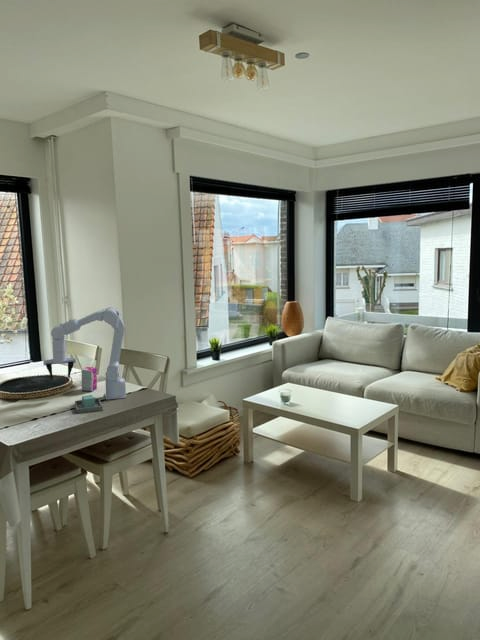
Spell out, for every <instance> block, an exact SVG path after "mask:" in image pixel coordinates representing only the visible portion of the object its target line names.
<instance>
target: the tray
mask: <svg viewBox="0 0 480 640" xmlns="http://www.w3.org/2000/svg"><path fill="white" fill-rule="evenodd" d="M74 407H75V411H76V412H75V413H76V414H83V413H84V414H85V413H91V412H92V413H93V412H100V411H104V410H103V404H102V402H101V398H99V397H98V398H95V407H87V408H84V407H83V406H82V399H81V400H80V399H79V400H74Z"/></svg>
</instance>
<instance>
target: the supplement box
mask: <svg viewBox="0 0 480 640" xmlns="http://www.w3.org/2000/svg"><path fill="white" fill-rule="evenodd" d="M97 371H98V368H97V367H92V366H86V367H83V368H82V369H81V392H87V393H92V392H94V391H95V390H97V388H98V385H97V384H98V382H97V381H98V375H97V374H98V372H97Z"/></svg>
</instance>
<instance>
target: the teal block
mask: <svg viewBox="0 0 480 640" xmlns="http://www.w3.org/2000/svg"><path fill="white" fill-rule="evenodd" d="M95 399H96V398H95V396H93V395H92V394H89V395H83V396H81V400H82V406H83V407H84V408H87V407H95Z"/></svg>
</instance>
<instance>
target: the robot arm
mask: <svg viewBox="0 0 480 640" xmlns="http://www.w3.org/2000/svg"><path fill="white" fill-rule="evenodd" d="M95 321H99V322H103V321H104V323H107V325H110V326H111V327H112V328H113V330H114V331H113V338H112V344H111V351H110V358H109V364H108V366H107V368H106V372H105V393H104V394H103V395H104V398H105V400H115V399H116V400H117V399H124V398H127V391H126V380H125V378H123V377H121V376H120V371H121V368H120V359H121V358H120V357H121V352H122V346H123V345H122V344H123V339H124V334H125V333H124V332H125V327H126V326H125V322H124V321H123V319H122V317H121V314H120V312H119V311H118V310H117V309H116V308H114V307H113V306H112V307H111V306H110V307H107V308H103V309H100V310H97V311H94V312H91V314H88V315H86V316H83V317H81V318H80V319H77V318H73V319H72V318H69V319H68V321H65V322H63V323H62V322H61V323H59V324H57V325H55V326H54V327H53V328H52V330H51V332H50V335H51V338H52V344H51V345H52V358H51V359H45V360H42V361H43V366H45V367H46V369H47V371H48V373H49V376H50V380H51V381H52V380H53V379H54V377H53V365H59V364H67V378H68V379H71V373H72V369H73V367H74V365H75V363H77V358H76V357H67V353H66V352H67V351H66V339H65V338H66V337H65V336H67V335H70V334H72V333H74V332H78V331H79V330H81V327H82V326H85V325H87V324H90V323H92V322H95Z"/></svg>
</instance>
